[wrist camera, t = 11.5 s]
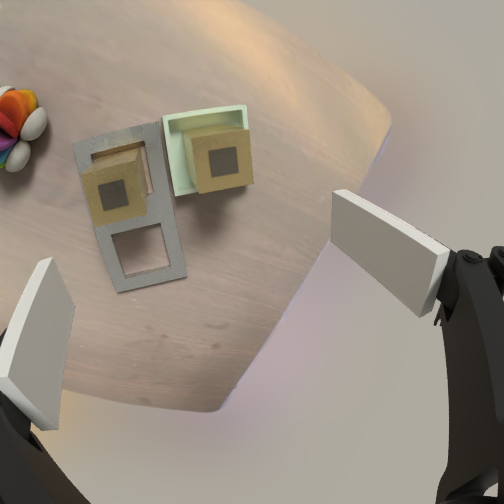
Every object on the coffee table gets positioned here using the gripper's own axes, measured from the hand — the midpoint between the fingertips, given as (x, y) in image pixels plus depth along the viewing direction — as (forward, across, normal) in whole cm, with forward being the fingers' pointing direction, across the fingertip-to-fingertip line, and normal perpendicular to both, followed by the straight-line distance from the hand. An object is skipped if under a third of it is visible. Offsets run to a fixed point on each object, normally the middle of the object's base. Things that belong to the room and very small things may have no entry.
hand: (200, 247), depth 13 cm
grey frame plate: (+23, -5, -5) cm, 24 cm away
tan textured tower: (+23, -5, 0) cm, 24 cm away
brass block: (+22, +5, 0) cm, 23 cm away
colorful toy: (+24, -18, +9) cm, 31 cm away
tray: (+23, +5, 0) cm, 23 cm away
